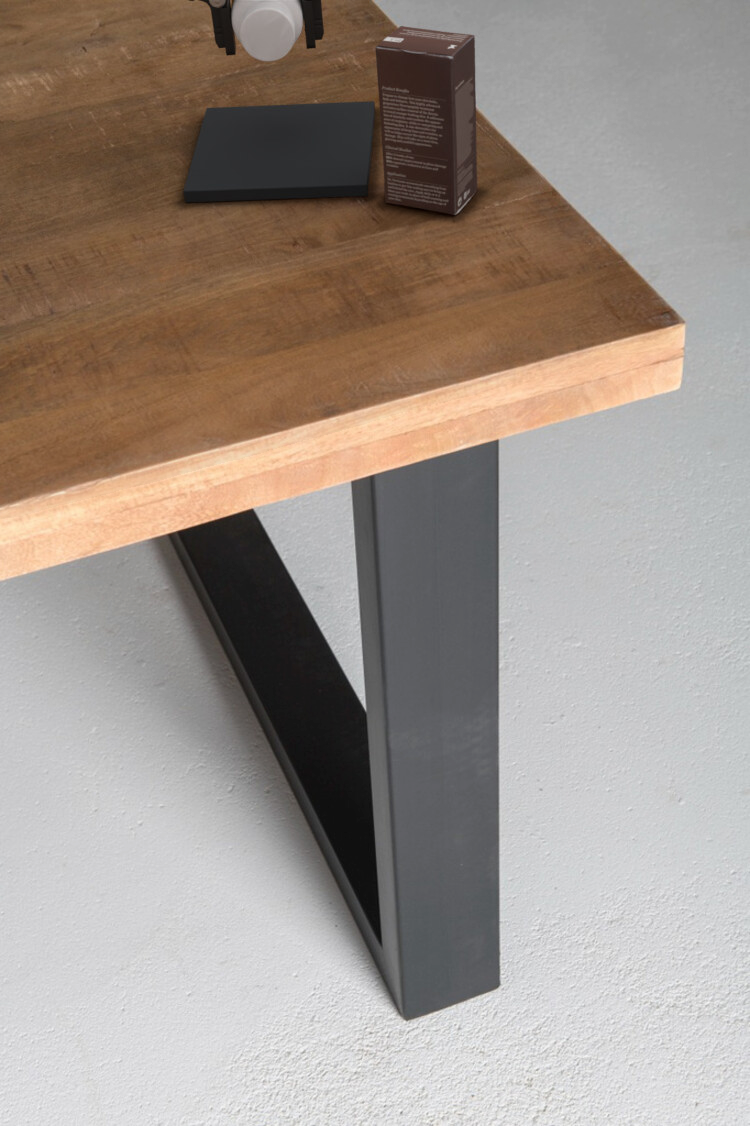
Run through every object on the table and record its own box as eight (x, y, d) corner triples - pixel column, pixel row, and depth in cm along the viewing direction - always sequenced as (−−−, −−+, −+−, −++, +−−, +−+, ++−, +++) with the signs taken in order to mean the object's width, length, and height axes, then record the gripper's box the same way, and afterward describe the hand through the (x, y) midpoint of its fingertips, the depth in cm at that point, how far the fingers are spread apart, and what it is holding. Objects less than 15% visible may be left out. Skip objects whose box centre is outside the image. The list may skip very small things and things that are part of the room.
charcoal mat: (185, 202, 108) (182, 191, 107) (208, 118, 118) (206, 107, 117) (367, 196, 107) (367, 184, 106) (375, 112, 117) (374, 100, 116)
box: (479, 189, 106) (477, 32, 98) (455, 218, 104) (451, 59, 95) (407, 176, 109) (399, 21, 100) (381, 204, 106) (371, 47, 98)
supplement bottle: (218, -30, 108) (215, 22, 101) (278, -67, 106) (279, -16, 99) (256, 30, 111) (256, 84, 104) (315, -5, 110) (318, 48, 103)
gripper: (133, -173, 92) (174, 77, 103) (353, -192, 92) (369, 60, 103) (139, -206, 97) (178, 35, 109) (347, -224, 97) (363, 19, 109)
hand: (271, 46), depth 106 cm, fingers closed on supplement bottle, 5 cm apart
